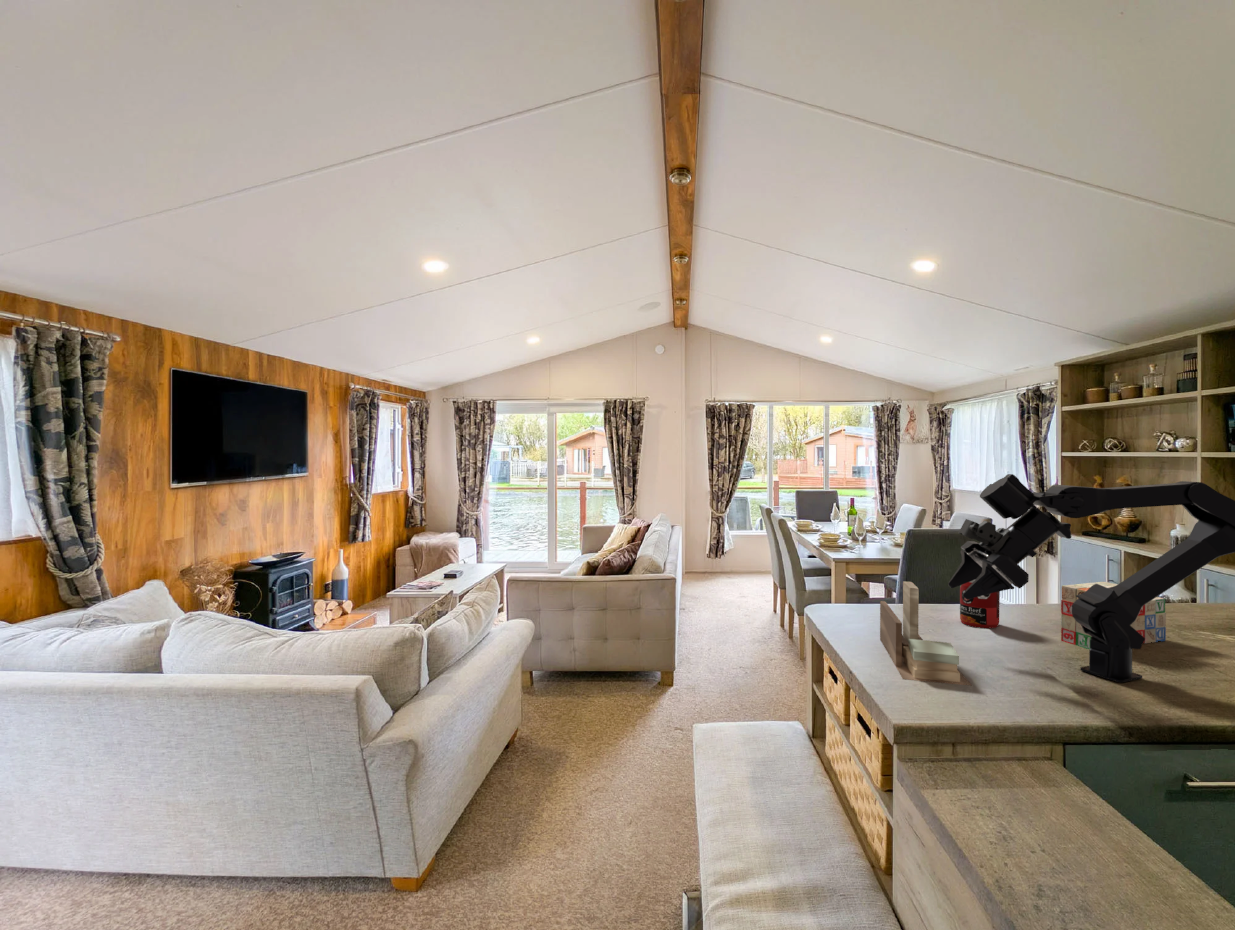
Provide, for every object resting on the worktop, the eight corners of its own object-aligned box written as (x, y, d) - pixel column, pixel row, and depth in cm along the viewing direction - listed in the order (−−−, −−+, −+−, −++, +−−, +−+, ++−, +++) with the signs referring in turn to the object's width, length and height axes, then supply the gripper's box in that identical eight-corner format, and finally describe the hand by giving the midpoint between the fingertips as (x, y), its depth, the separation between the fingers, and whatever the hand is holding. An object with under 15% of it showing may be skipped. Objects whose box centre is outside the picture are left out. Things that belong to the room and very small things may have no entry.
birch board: (911, 646, 115) (911, 581, 115) (918, 656, 109) (918, 588, 109) (902, 645, 115) (903, 581, 115) (909, 655, 109) (909, 587, 109)
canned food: (952, 621, 137) (952, 575, 137) (977, 618, 140) (977, 573, 140) (981, 630, 130) (981, 582, 130) (1007, 627, 132) (1007, 579, 132)
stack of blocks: (1133, 633, 128) (1134, 578, 128) (1166, 641, 122) (1167, 584, 122) (1060, 641, 123) (1060, 584, 122) (1091, 651, 117) (1091, 590, 116)
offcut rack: (935, 650, 116) (936, 604, 116) (971, 694, 95) (972, 637, 95) (880, 646, 119) (880, 601, 119) (902, 687, 98) (903, 632, 98)
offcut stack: (948, 665, 104) (948, 640, 104) (963, 682, 96) (963, 656, 96) (901, 661, 106) (901, 637, 106) (912, 678, 98) (912, 652, 98)
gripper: (972, 501, 117) (913, 552, 120) (1008, 510, 99) (937, 569, 102) (1016, 541, 115) (954, 592, 118) (1061, 557, 97) (986, 616, 100)
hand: (956, 591), depth 110 cm, fingers open, 9 cm apart
